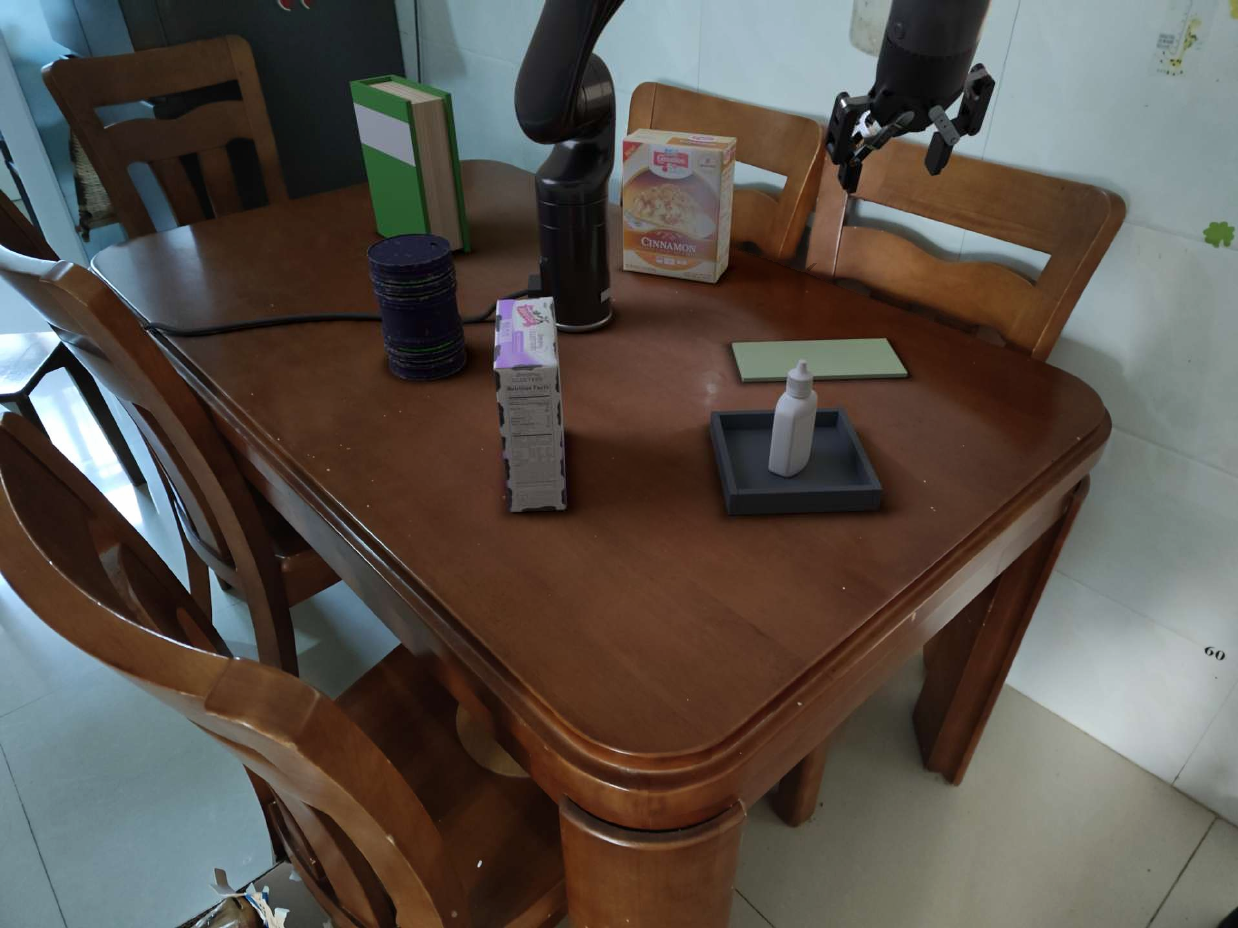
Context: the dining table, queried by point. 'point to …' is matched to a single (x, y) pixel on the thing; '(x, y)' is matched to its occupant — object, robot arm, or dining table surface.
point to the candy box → (530, 404)
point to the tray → (821, 486)
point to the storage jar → (418, 305)
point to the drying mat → (818, 359)
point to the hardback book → (411, 158)
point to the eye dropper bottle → (794, 423)
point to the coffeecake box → (677, 203)
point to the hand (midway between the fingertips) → (889, 179)
